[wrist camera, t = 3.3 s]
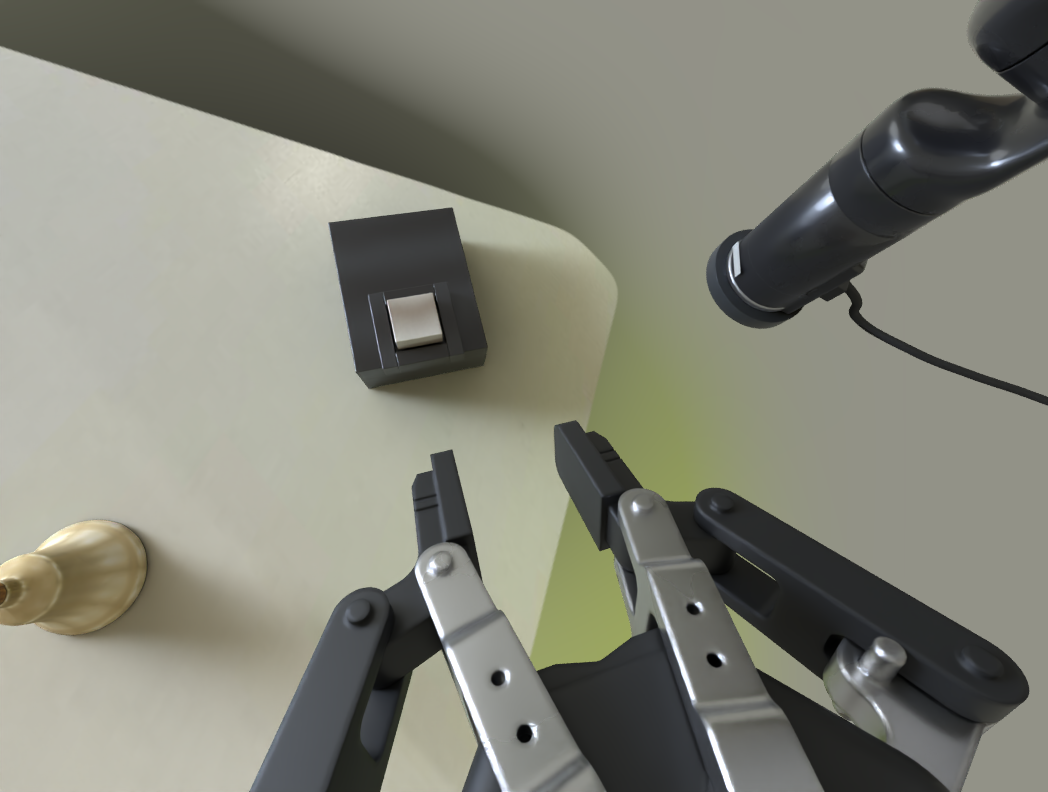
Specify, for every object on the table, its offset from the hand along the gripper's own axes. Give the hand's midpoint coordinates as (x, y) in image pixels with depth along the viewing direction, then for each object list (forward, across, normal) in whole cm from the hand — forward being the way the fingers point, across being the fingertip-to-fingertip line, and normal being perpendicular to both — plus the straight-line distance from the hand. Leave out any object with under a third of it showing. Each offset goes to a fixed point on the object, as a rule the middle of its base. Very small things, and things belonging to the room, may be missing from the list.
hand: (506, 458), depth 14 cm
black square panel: (+31, +2, +6) cm, 32 cm away
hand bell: (+19, +30, +18) cm, 40 cm away
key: (+23, +2, +4) cm, 24 cm away
